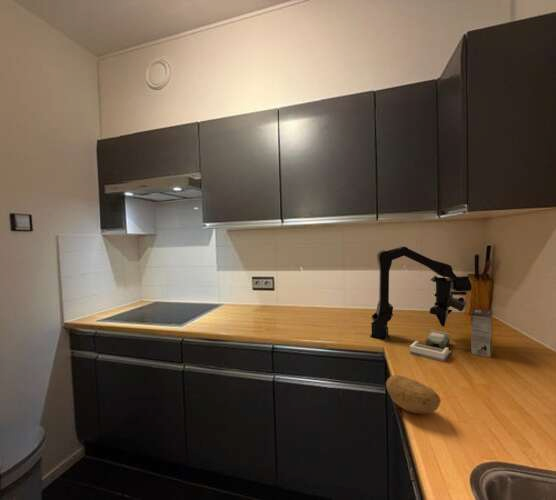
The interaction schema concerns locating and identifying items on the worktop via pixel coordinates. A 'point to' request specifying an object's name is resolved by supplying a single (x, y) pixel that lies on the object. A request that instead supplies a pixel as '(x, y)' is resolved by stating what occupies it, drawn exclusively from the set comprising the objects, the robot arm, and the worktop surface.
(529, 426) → the worktop surface
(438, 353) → the dock
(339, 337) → the worktop surface
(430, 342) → the trolley
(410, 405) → the potato
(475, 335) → the coffee box
